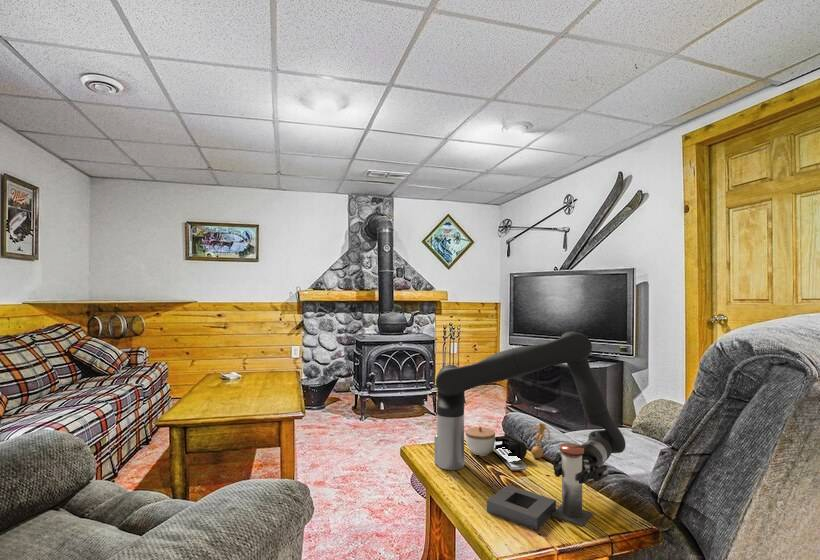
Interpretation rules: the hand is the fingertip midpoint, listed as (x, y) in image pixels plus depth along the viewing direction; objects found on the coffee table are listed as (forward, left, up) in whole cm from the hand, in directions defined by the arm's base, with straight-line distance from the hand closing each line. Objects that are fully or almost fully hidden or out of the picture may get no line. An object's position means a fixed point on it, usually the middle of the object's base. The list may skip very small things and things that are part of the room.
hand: (568, 476), depth 111 cm
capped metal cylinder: (0, +3, -10) cm, 11 cm away
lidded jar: (-41, +25, -11) cm, 49 cm away
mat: (0, +3, -11) cm, 11 cm away
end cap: (-31, +29, -11) cm, 44 cm away
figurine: (-23, +35, -11) cm, 43 cm away
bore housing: (-11, -4, -11) cm, 16 cm away
